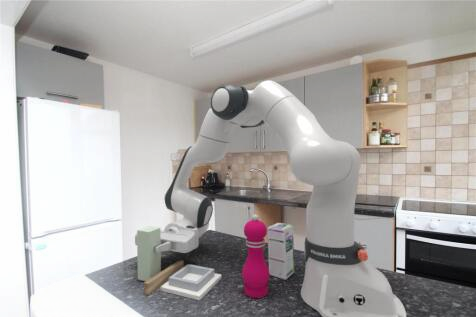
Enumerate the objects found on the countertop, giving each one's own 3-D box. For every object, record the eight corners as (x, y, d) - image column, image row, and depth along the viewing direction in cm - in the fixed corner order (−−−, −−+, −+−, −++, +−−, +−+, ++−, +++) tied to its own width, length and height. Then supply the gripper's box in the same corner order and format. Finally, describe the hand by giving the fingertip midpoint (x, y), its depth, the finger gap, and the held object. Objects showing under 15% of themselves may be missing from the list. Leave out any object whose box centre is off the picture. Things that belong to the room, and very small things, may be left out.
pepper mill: (268, 300, 59) (267, 218, 59) (239, 297, 60) (238, 217, 60) (270, 285, 66) (270, 211, 66) (244, 283, 67) (243, 211, 67)
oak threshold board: (183, 270, 75) (183, 260, 75) (148, 295, 61) (148, 283, 61) (179, 269, 76) (179, 260, 76) (143, 294, 62) (143, 282, 62)
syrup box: (286, 280, 68) (285, 229, 68) (268, 274, 72) (267, 225, 72) (294, 272, 73) (294, 224, 73) (277, 267, 77) (276, 221, 77)
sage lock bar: (160, 275, 72) (160, 227, 72) (150, 282, 67) (149, 232, 67) (149, 272, 73) (148, 226, 73) (137, 279, 69) (137, 230, 69)
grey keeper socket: (221, 278, 70) (221, 267, 70) (199, 300, 59) (199, 288, 59) (186, 271, 75) (186, 261, 75) (160, 290, 64) (160, 279, 64)
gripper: (152, 222, 86) (120, 234, 74) (202, 228, 78) (175, 242, 66) (152, 240, 86) (120, 254, 74) (202, 247, 78) (175, 265, 66)
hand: (146, 248), depth 69 cm, fingers closed on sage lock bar, 4 cm apart
